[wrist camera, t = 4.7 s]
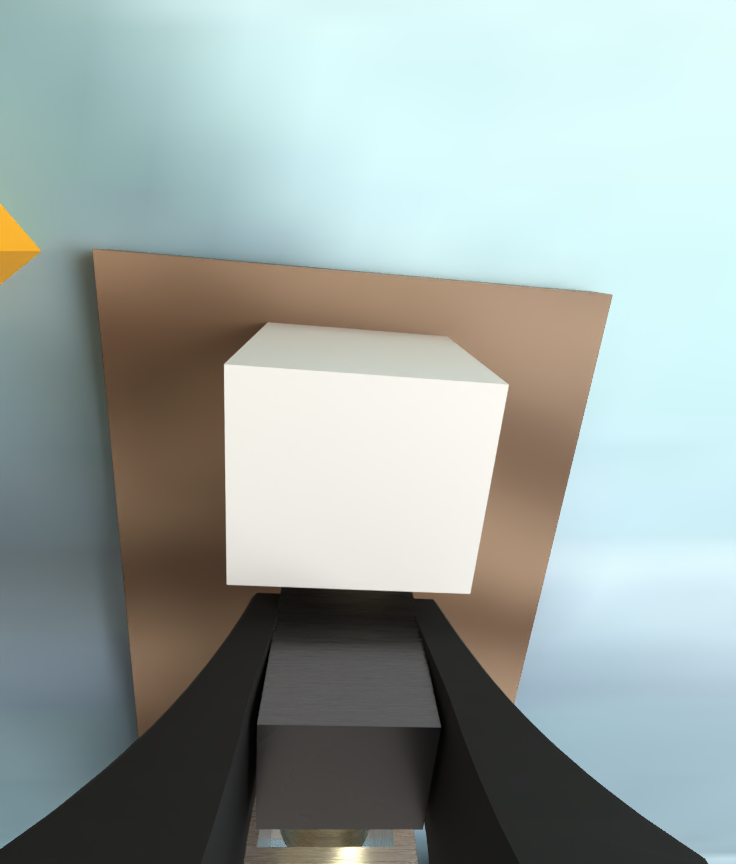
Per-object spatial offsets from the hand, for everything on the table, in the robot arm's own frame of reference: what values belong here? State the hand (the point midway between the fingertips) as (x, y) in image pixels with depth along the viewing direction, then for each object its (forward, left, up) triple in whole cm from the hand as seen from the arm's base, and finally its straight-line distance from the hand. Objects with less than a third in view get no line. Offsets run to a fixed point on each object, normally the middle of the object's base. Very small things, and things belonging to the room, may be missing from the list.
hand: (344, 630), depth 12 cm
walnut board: (-3, 0, -5) cm, 6 cm away
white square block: (+4, 0, -5) cm, 7 cm away
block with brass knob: (-2, 0, -3) cm, 3 cm away
